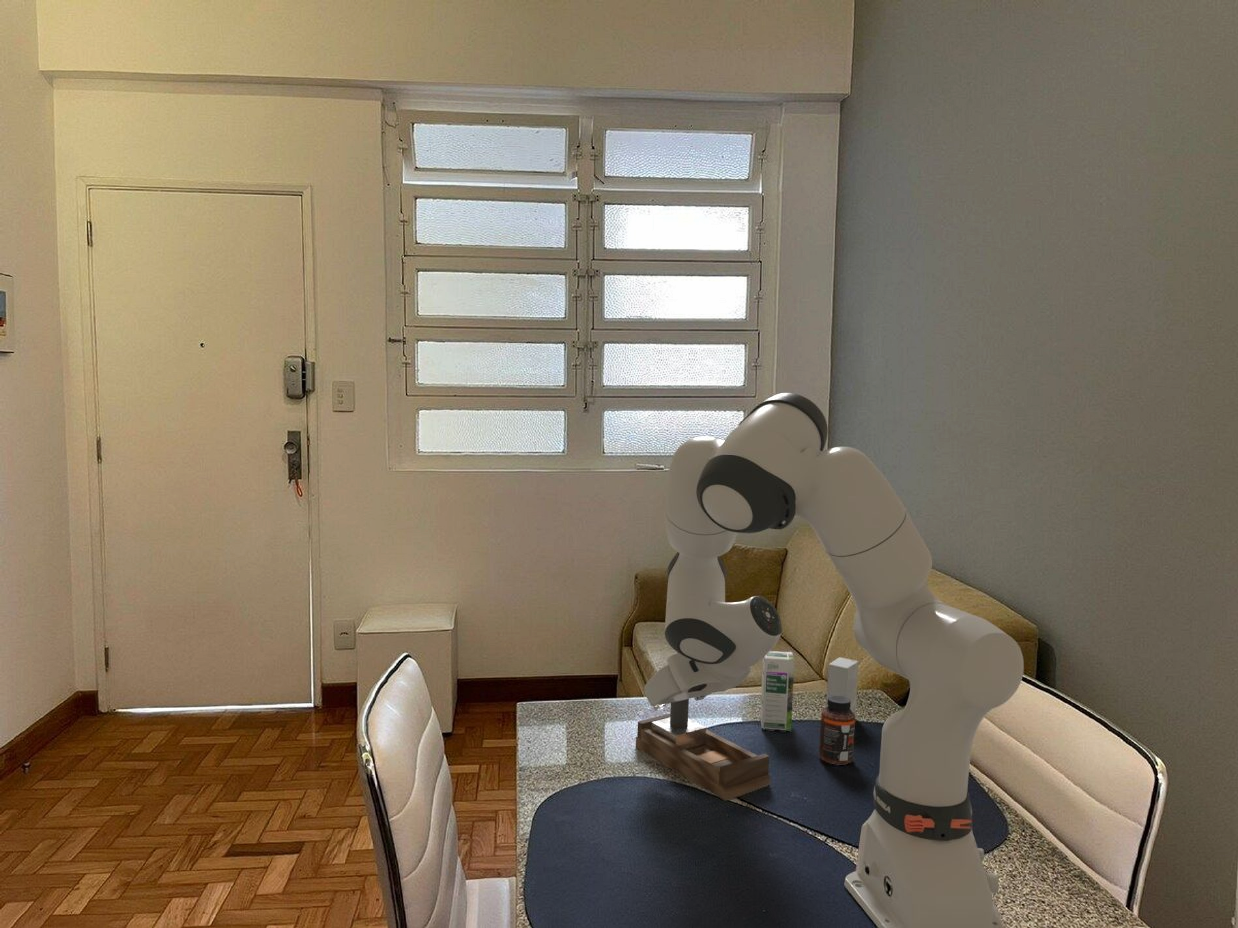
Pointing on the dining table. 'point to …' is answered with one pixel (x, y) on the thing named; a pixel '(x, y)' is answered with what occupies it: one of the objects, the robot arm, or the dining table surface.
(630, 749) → the dining table surface
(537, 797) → the dining table surface
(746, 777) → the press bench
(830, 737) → the supplement bottle
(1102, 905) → the dining table surface
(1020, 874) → the dining table surface
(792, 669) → the syrup box
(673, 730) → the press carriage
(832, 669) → the skincare box
